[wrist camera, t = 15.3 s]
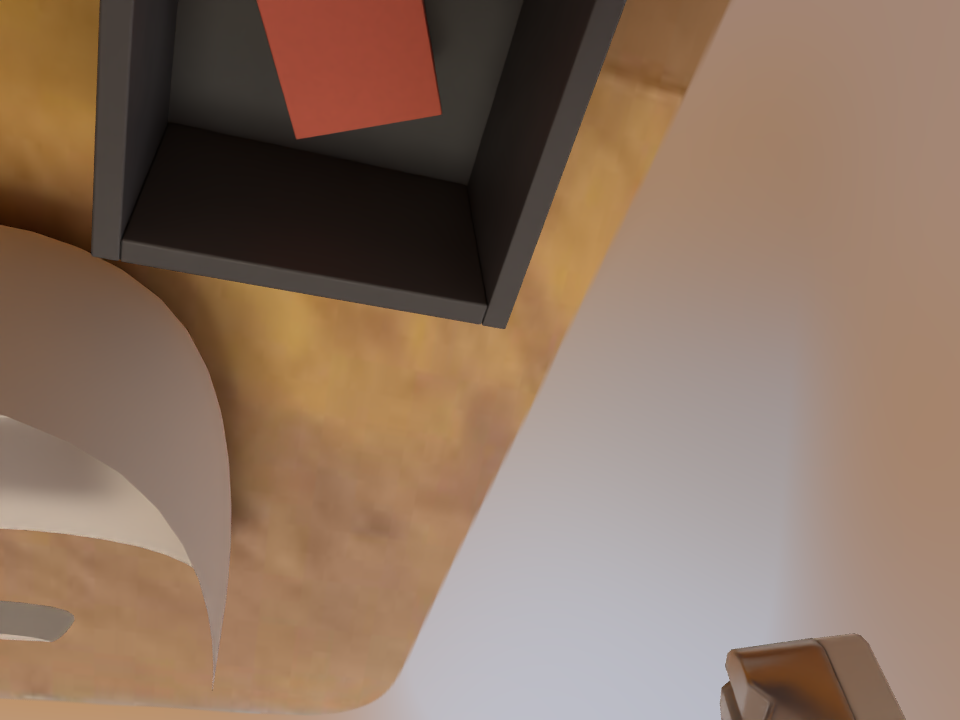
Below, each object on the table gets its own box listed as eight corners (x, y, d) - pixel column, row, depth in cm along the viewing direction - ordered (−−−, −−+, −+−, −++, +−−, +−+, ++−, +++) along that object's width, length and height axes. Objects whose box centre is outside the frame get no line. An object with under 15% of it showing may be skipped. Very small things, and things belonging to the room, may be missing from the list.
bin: (590, -148, 29) (656, -79, 22) (480, 199, 36) (505, 329, 30) (174, -278, 26) (107, -244, 19) (146, 129, 33) (90, 257, 27)
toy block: (409, -81, 29) (415, -39, 26) (434, 60, 32) (442, 115, 28) (266, -56, 29) (252, -12, 26) (304, 82, 32) (295, 140, 29)
